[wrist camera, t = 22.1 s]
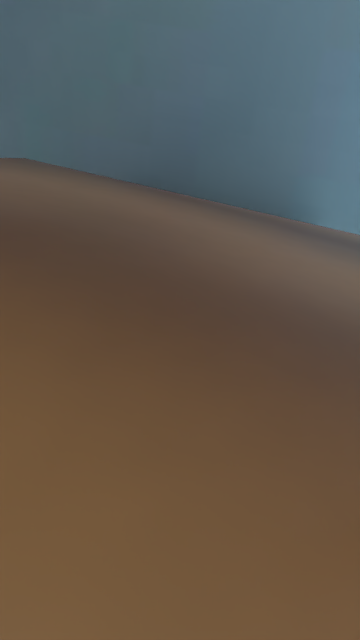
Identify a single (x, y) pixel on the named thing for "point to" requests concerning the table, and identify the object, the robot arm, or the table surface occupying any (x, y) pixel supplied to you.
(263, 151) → the table surface
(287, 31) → the table surface
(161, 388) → the gift box lid
